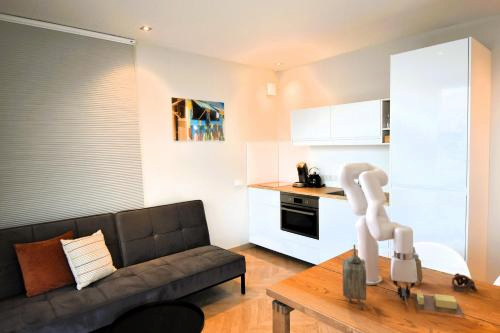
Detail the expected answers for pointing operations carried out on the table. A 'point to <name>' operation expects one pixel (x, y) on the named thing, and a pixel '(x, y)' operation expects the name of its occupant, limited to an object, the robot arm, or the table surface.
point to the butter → (445, 301)
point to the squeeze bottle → (418, 267)
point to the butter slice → (420, 298)
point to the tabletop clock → (354, 278)
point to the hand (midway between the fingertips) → (403, 296)
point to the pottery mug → (460, 281)
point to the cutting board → (431, 306)
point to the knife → (404, 297)
